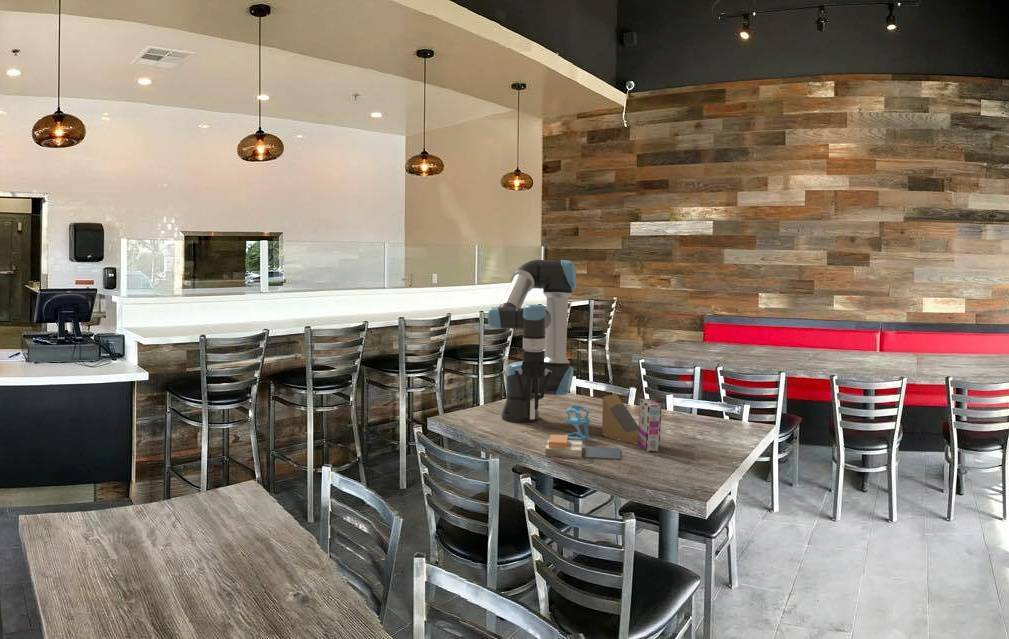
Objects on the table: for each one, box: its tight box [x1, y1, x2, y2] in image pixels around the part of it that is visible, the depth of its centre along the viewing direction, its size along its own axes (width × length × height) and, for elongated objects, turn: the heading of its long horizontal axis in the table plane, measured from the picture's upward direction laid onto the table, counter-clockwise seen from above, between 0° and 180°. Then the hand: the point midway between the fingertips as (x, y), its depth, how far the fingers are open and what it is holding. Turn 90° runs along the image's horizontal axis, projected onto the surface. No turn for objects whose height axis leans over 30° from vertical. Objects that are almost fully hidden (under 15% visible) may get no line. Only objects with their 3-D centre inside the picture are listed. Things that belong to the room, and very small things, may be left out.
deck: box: [544, 438, 583, 459], centre depth 237 cm, size 12×12×2 cm
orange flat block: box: [548, 434, 569, 449], centre depth 237 cm, size 9×6×2 cm, turn 172°
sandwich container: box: [601, 393, 639, 444], centre depth 255 cm, size 9×15×15 cm, turn 44°
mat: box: [583, 445, 622, 460], centre depth 236 cm, size 12×12×1 cm
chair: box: [564, 405, 591, 442], centre depth 253 cm, size 8×8×12 cm
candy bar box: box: [638, 398, 662, 453], centre depth 242 cm, size 11×5×16 cm, turn 5°
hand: (532, 418), depth 237 cm, fingers closed
